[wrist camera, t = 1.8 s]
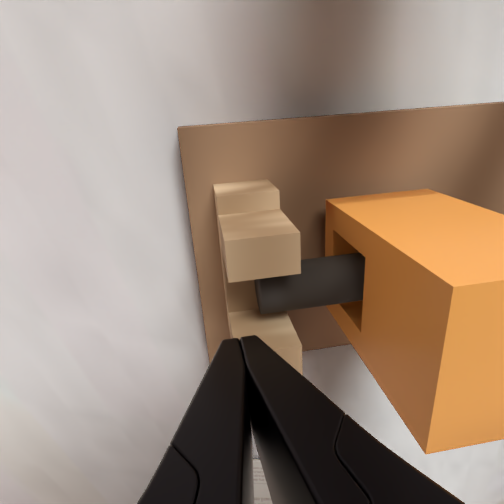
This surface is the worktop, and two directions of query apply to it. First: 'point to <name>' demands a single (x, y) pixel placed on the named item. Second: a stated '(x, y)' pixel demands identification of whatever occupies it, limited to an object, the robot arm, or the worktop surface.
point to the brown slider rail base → (315, 208)
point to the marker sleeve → (427, 309)
